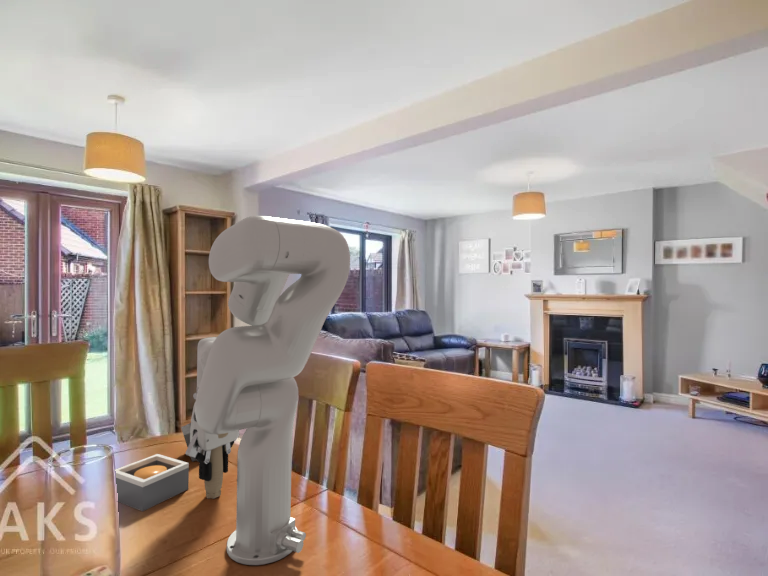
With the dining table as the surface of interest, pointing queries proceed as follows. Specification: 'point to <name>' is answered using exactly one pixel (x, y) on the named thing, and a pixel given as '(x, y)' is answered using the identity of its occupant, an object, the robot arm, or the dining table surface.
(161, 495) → the box
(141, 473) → the button
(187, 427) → the electrical switch
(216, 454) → the handle
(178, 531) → the dining table surface
